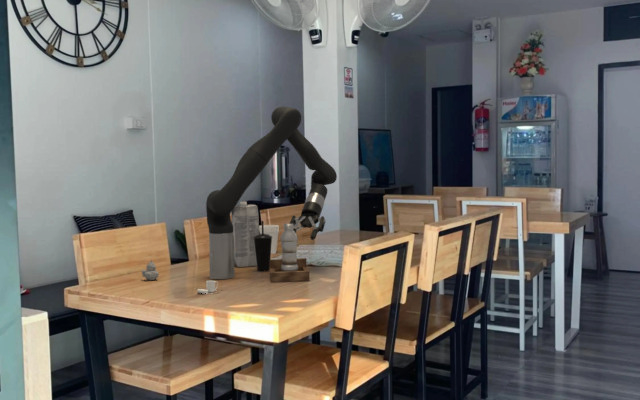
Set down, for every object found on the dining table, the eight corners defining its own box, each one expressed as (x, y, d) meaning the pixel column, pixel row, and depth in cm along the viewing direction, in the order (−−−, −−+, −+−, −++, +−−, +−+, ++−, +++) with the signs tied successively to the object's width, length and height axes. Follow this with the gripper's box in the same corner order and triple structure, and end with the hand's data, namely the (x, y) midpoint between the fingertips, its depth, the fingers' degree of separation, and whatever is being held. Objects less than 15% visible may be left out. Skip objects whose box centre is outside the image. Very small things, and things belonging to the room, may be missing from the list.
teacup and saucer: (197, 296, 213) (197, 284, 213) (195, 291, 221) (195, 280, 220) (224, 294, 215) (223, 282, 215) (221, 289, 223) (221, 278, 223)
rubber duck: (155, 281, 238) (154, 260, 237) (138, 281, 239) (138, 260, 239) (161, 278, 243) (160, 258, 243) (145, 278, 244) (144, 257, 244)
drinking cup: (270, 272, 254) (269, 222, 252) (251, 271, 255) (250, 221, 254) (275, 268, 261) (274, 220, 260) (257, 268, 263) (256, 220, 261)
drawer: (271, 282, 232) (270, 264, 232) (269, 276, 244) (269, 259, 244) (309, 281, 234) (309, 263, 233) (306, 275, 246) (306, 258, 246)
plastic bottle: (289, 274, 244) (287, 222, 243) (302, 276, 240) (301, 223, 238) (277, 277, 239) (276, 224, 238) (290, 279, 235) (289, 225, 233)
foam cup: (283, 252, 305) (282, 225, 305) (271, 255, 298) (271, 227, 297) (267, 251, 310) (266, 224, 310) (255, 253, 303) (254, 226, 302)
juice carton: (261, 266, 268) (259, 201, 266) (236, 268, 264) (235, 203, 262) (255, 263, 276) (253, 200, 274) (231, 264, 272) (229, 201, 270)
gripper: (294, 200, 259) (282, 231, 249) (326, 200, 253) (315, 233, 243) (300, 212, 264) (288, 243, 254) (332, 212, 258) (321, 245, 249)
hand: (301, 238), depth 249 cm, fingers open, 8 cm apart
